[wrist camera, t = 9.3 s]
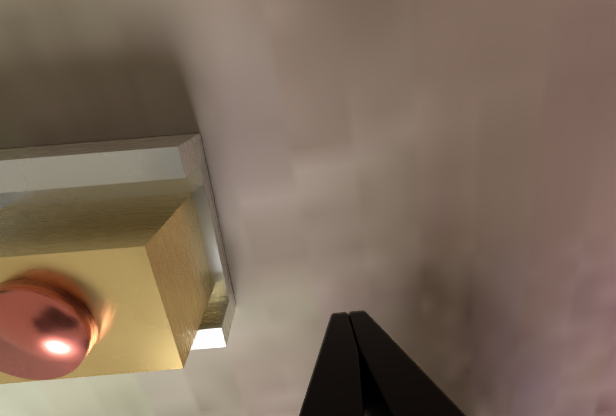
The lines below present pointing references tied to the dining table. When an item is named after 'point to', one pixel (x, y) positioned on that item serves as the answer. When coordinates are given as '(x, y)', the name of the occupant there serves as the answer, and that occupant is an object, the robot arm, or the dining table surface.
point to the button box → (100, 287)
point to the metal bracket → (128, 195)
